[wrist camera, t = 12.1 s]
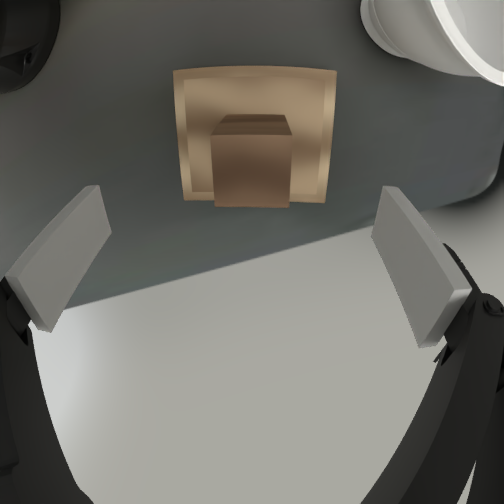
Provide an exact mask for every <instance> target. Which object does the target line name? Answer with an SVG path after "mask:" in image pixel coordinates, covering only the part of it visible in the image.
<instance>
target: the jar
mask: <svg viewBox="0 0 504 504" xmlns="http://www.w3.org/2000/svg"><path fill="white" fill-rule="evenodd" d="M360 13H361V19H362V22H363V25H364V27H365V29H366V31H367V33H368V34H369V36H370V37H371V38H372V40H373V41H374V42H375V43H376V44H377V45H378V46H380V47H381V48H382V49H383V50H385V51H387V52H388V53H390V54H392V55H395V56H398V57H403V58H408V59H410V60H412V61H415V62H418V63H421V64H423V65H425V66H427V67H430V68H432V69H435V70H438V71H441V72H445V73H449V74H454V75H461V76H480V77H482V78H484V79H485V80H487V81H490V82H492V83H495V84H498V85H501V86H504V0H362V2H361V7H360Z"/></svg>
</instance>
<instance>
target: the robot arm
mask: <svg viewBox="0 0 504 504" xmlns="http://www.w3.org/2000/svg"><path fill="white" fill-rule="evenodd" d="M59 17H60V9H59V2H58V0H0V94H2V93H7V92H10V91H13V90H16V89H19V88H21V87H23V86H24V85H26V84H27V83H28V82H30V81H31V80H32V79H33V78H34V77H35V76H36V74H37V73H38V72H39V71H40V69H41V68H42V66H43V65H44V63H45V61H46V60H47V58H48V56H49V54H50V51H51V49H52V47H53V44H54V41H55V38H56V35H57V30H58V25H59ZM111 233H112V232H111V228H110V225H109V222H108V218H107V214H106V211H105V207H104V203H103V199H102V195H101V191H100V187H99V185H90V186H86V187H85V188H84V189H83V190H82V191H80V192H79V193H78V194H77V195H76V196H75V197H74V198H73V199H72V200H71V201H70V202H69V203H68V204H67V205H66V206H65V207H64V208H63V209H62V210H61V211H60V212H59V213H58V214H57V215H56V216H55V217H54V218H53V219H52V220H51V222H50V223H49V224H48V225H47V226H46V227H45V228H44V229H43V230H42V231H41V232H40V234H39V235H38V236H37V237H36V238H35V239H34V240H33V241H32V243H31V244H30V245H29V246H28V247H27V248H26V250H25V251H24V252H23V253H22V254H21V256H20V257H19V258H18V259H17V261H16V262H15V263H14V264H13V266H12V267H11V268H10V270H9V271H8V272H7V273H6V275H5V276H4V278H3V279H2V280H1V282H0V504H94V503H93V502H92V501H91V500H90V498H89V497H88V496H87V495H86V494H85V493H84V492H83V491H82V490H80V489H79V487H78V486H77V484H76V482H75V480H74V478H73V476H72V473H71V471H70V469H69V466H68V464H67V462H66V459H65V457H64V454H63V452H62V449H61V447H60V444H59V441H58V439H57V435H56V433H55V430H54V427H53V424H52V420H51V417H50V414H49V411H48V407H47V404H46V400H45V396H44V392H43V389H42V385H41V380H40V376H39V371H38V367H37V361H36V356H35V350H34V344H33V338H32V332H31V329H30V328H29V326H28V324H29V322H30V320H32V321H33V323H34V324H35V326H36V327H37V329H38V330H42V331H46V332H50V333H51V332H52V330H53V328H54V326H55V325H56V323H57V321H58V319H59V317H60V315H61V313H62V312H63V310H64V308H65V306H66V304H67V303H68V301H69V299H70V297H71V296H72V294H73V292H74V291H75V289H76V287H77V286H78V284H79V282H80V281H81V279H82V277H83V276H84V274H85V272H86V271H87V269H88V268H89V266H90V265H91V263H92V261H93V260H94V258H95V257H96V255H97V254H98V252H99V251H100V249H101V248H102V246H103V245H104V243H105V242H106V240H107V239H108V237H109V236H110V234H111ZM371 237H372V239H373V241H374V243H375V245H376V247H377V249H378V251H379V254H380V256H381V258H382V260H383V262H384V264H385V266H386V269H387V270H388V273H389V275H390V277H391V280H392V282H393V284H394V286H395V288H396V291H397V293H398V296H399V298H400V300H401V303H402V305H403V307H404V310H405V312H406V315H407V318H408V320H409V323H410V325H411V328H412V331H413V333H414V336H415V339H416V341H417V344H418V347H419V348H424V347H431V346H436V345H437V344H438V342H439V341H440V339H441V338H442V336H443V335H444V336H445V338H446V341H447V344H446V345H445V346H444V348H443V349H442V350H441V352H440V353H439V354H438V356H437V357H436V358H435V360H434V362H435V363H436V362H437V361H438V359H439V361H438V364H437V366H436V369H435V371H434V374H433V376H432V379H431V381H430V384H429V386H428V389H427V391H426V393H425V395H424V398H423V400H422V402H421V404H420V406H419V408H418V410H417V412H416V414H415V416H414V418H413V420H412V423H411V424H410V426H409V428H408V430H407V432H406V434H405V436H404V437H403V439H402V441H401V443H400V445H399V446H398V448H397V450H396V451H395V453H394V455H393V456H392V458H391V460H390V461H389V463H388V465H387V466H386V468H385V469H384V471H383V472H382V474H381V476H380V477H379V479H378V480H377V481H376V483H375V484H374V486H373V487H372V489H371V490H370V491H369V493H368V494H367V495H366V497H365V498H364V500H363V501H362V502H361V504H457V502H458V500H459V498H460V496H461V494H462V492H463V490H464V488H465V486H466V483H467V481H468V479H469V476H470V474H471V472H472V469H473V466H474V464H475V461H476V465H475V470H474V475H473V480H472V484H471V488H470V492H469V496H468V499H467V503H466V504H504V307H503V305H502V304H501V302H500V301H499V300H498V299H497V298H495V297H494V296H492V295H490V294H487V293H482V292H481V291H480V289H479V287H478V286H477V284H476V283H475V281H474V280H473V278H472V276H471V275H470V274H469V272H468V270H466V269H465V266H464V264H463V263H462V262H461V260H460V259H459V257H458V256H457V255H456V253H455V252H454V251H453V250H452V249H451V248H450V247H449V246H447V245H446V244H444V243H442V242H441V241H440V240H439V238H438V237H437V236H436V234H435V233H434V232H433V230H432V229H431V228H430V226H429V225H428V224H427V222H426V221H425V220H424V219H423V217H422V216H421V215H420V213H419V212H418V211H417V210H416V209H415V207H414V206H413V205H412V204H411V202H410V201H409V200H408V199H407V198H406V196H405V195H404V194H403V193H402V192H401V191H400V189H399V188H398V187H391V186H383V188H382V193H381V197H380V202H379V206H378V210H377V215H376V219H375V223H374V227H373V231H372V235H371Z"/></svg>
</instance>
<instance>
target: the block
mask: <svg viewBox="0 0 504 504" xmlns="http://www.w3.org/2000/svg"><path fill="white" fill-rule="evenodd" d="M292 138H293V135H292V133H291V130H290V127H289V125H288V122H287V120H286V117H285V115H275V114H231V115H226V116H225V117H224V118H223V119H222V121H221V122H220V123H219V125H218V126H217V127H216V128H215V130H214V131H213V132H212V134H211V135H210V144H211V159H212V174H213V188H214V201H215V207H277V208H289V199H290V181H291V161H292Z"/></svg>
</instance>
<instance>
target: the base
mask: <svg viewBox="0 0 504 504" xmlns="http://www.w3.org/2000/svg"><path fill="white" fill-rule="evenodd" d="M336 75H337V71H332V70H324V69H314V68H302V67H285V66H221V67H204V68H192V69H182V70H173V81H174V98H175V113H176V126H177V138H178V149H179V159H180V169H181V178H182V187H183V195H184V200H214V188H213V174H212V159H211V144H210V135H211V134H212V132H213V131H214V130H215V128H216V127H217V126H218V125H219V123H220V122H221V121H222V119H223V118H224V117H225V116H226V115H231V114H275V115H285V117H286V120H287V122H288V125H289V127H290V130H291V133H292V135H293V138H292V161H291V181H290V199H289V202H314V203H325V197H326V189H327V181H328V172H329V163H330V154H331V144H332V133H333V121H334V108H335V93H336Z"/></svg>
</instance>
